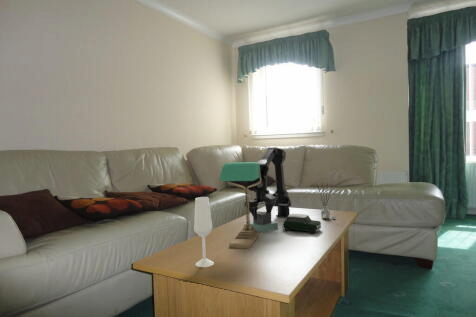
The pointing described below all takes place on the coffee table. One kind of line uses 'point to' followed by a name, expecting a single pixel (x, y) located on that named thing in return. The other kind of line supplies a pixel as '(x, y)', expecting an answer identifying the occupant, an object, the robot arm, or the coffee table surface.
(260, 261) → the coffee table surface
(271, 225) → the shaft pedestal
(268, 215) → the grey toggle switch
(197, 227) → the champagne flute
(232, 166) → the banker's lamp
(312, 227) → the miniature car
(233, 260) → the coffee table surface
